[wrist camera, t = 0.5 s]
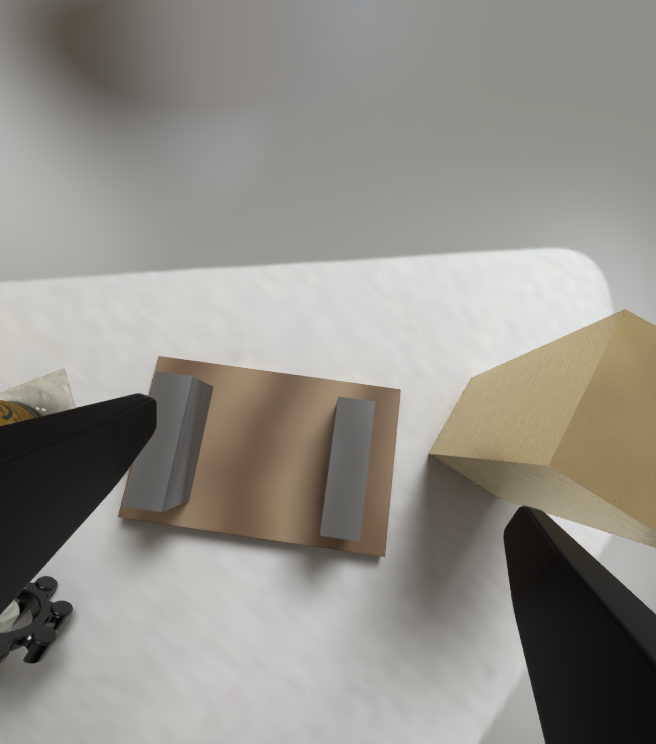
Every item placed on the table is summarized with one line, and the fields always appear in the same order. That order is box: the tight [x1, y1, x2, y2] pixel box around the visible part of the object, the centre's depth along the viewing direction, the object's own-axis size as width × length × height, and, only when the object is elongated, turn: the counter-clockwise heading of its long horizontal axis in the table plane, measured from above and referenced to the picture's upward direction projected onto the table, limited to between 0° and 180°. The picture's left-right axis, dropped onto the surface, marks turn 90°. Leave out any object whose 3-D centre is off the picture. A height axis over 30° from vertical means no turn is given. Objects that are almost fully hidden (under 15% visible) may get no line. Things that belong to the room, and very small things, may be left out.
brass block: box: [429, 309, 656, 548], centre depth 16 cm, size 6×5×12 cm
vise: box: [118, 356, 401, 557], centre depth 20 cm, size 16×10×4 cm, turn 82°
